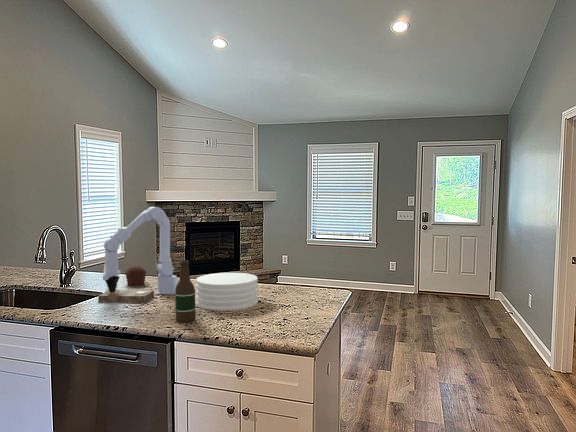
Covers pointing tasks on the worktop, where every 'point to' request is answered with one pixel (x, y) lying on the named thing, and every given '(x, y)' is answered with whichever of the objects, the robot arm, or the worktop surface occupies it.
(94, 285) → the worktop surface
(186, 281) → the beer bottle
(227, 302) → the plate stack
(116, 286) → the beer glass
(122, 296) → the wooden board
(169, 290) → the robot arm
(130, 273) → the muffin
